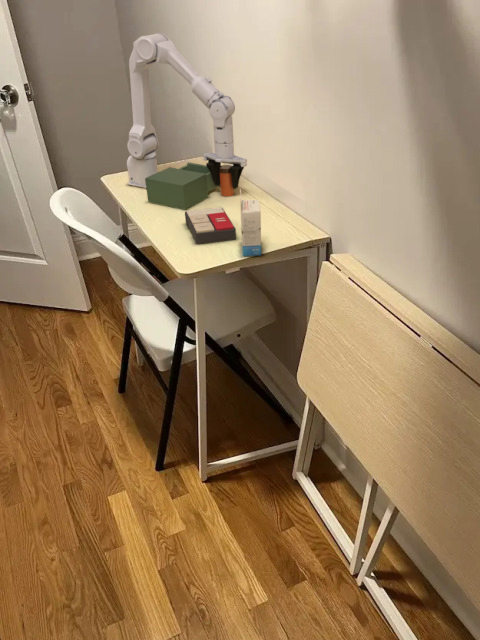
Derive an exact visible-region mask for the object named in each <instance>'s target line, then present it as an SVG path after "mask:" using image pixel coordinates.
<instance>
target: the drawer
mask: <svg viewBox="0 0 480 640" xmlns="http://www.w3.org/2000/svg"><path fill="white" fill-rule="evenodd" d="M178 169H182V170H188V171H193V172H199V173H204V174H206V175H207V188H208V193H209V192H211V191H213V190H214V189H216V188H218V187H219V188H220V184H219V185H218V186H215V184H214V180H213V177H212V175H211V173H210V171H209V169H208V168H207V166H206V164H200V163H194V162H187V163H186V164H185V165H183V166H181V167H179V168H178Z"/></svg>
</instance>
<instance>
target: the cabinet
mask: <svg viewBox="0 0 480 640" xmlns="http://www.w3.org/2000/svg"><path fill="white" fill-rule="evenodd" d="M145 182H146V188H145V190H146V196H147V202H148V203H150V204H155V205H158V206H159V205H160V206H164V207H168V208H174V209H179V210H184V211H188V209H191V208H192V207H194V206H196V205H198V204H200V203H201V202H203V201H205V200H207V199H208V198H209V192H208V188H207V175H206V174H204V173H199V172H193V171H188V170H182V169H179V168H176V167H171V166H170V167H167V168H165V169H163V170H160V171H158V173H156V174H153V175H151V176H149V177H147V178H145Z"/></svg>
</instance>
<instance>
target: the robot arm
mask: <svg viewBox="0 0 480 640" xmlns="http://www.w3.org/2000/svg"><path fill="white" fill-rule="evenodd" d="M132 45H133V48H132V50H131V54H130V56H129V60H128V67H129V79H130V80H129V82H130V96H131V108H132V109H131V111H132V126H131V128H130V130H129V132H128V140H127V144H126V148H127V151H128V153H129V156H128V158H127V160H126V168H127V173H128V174H127V175H128V183H127V185H128V186H134V187H137V188H143V189H146V182H145V178H147V177H149V176H151V175H153V174H156V173H158V172H159V167H158V161H157V160H158V159H157V150H158V148H159V145H160V143H159V138H158V137H157V131H156V128H155V127H154V126H153V125H152V115H151V114H152V112H151V94H150V93H151V91H150V73H149V72H150V70H149V69H150V68H151V67H152V66H153V65H154V64H156V63H158V64H164V65H169V66H170V67H172V69H174V70H175V72H177V73H178V74H179V75H180V76H181V77H182V78H183V79H184V80H185V81H187V82H188V83H189V85H190V87H191V89H190V90H191V92H192V94H193V95H194V96H196V98H197V99H198V100H199V101H200V102H201V103H202V104H203V105H204V106H205V107H206V108H207V109H208V113H209V116H210V118H211V120H212V123H213V125H212V126H213V139H214V141H213V142H214V152H205V153H203V155H202V156H203V161H206V162H205V163H206V164H205V165H206V166H207V168H208V169H209V171H210V173H211V175H212V177H213V180H214V184H215V186H217V187H219V186H218V185H219V184H220V172H219V166H221V165H222V163H223V164H226V165H231V167H229V169H230V172H231V176H232V187H233V189H234V190H236V189H238V188H239V183H240V179H241V176H242V174H243V171H244V168H245V167H247V166H248V159H247V158H243V157H241V156H237V155H235V148H234V147H235V146H234V127H233V125H234V124H233V115H234V113H235V110H236V105H235V102H234V100H233V99H232V97H231V96H229V95H224V92H222V91H220V90H219V89H218V88H217V87H216V86H215V85H214V84H213V82H212V79H211V78H210V77H209V76H206V75H199V74H198V73H197V71H196V70H195V69H194V67H192V65H191V64H190V63H189V62H188V60H186V58H185V57H184V56H183V55H182V54H181V53H180V51H179V50H178V49H177V47H176V45H175V43H174V42H173V41H171V39H169V37H168V36H167V35H166V34H164V33H163V32H156V33H153V34H149V35H141V36H139V37H138V38H137V39H136V40H134V41H133V44H132Z"/></svg>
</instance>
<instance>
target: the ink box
mask: <svg viewBox="0 0 480 640" xmlns="http://www.w3.org/2000/svg"><path fill="white" fill-rule="evenodd" d="M239 200H240V204H239V205H240V206H239V207H240V233H241V249H242V257H261V256H262V219H261V218H262V217H261V216H262V215H261V204H260V203H261V202H260V200H259V199H242V189H241V188H239Z"/></svg>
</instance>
